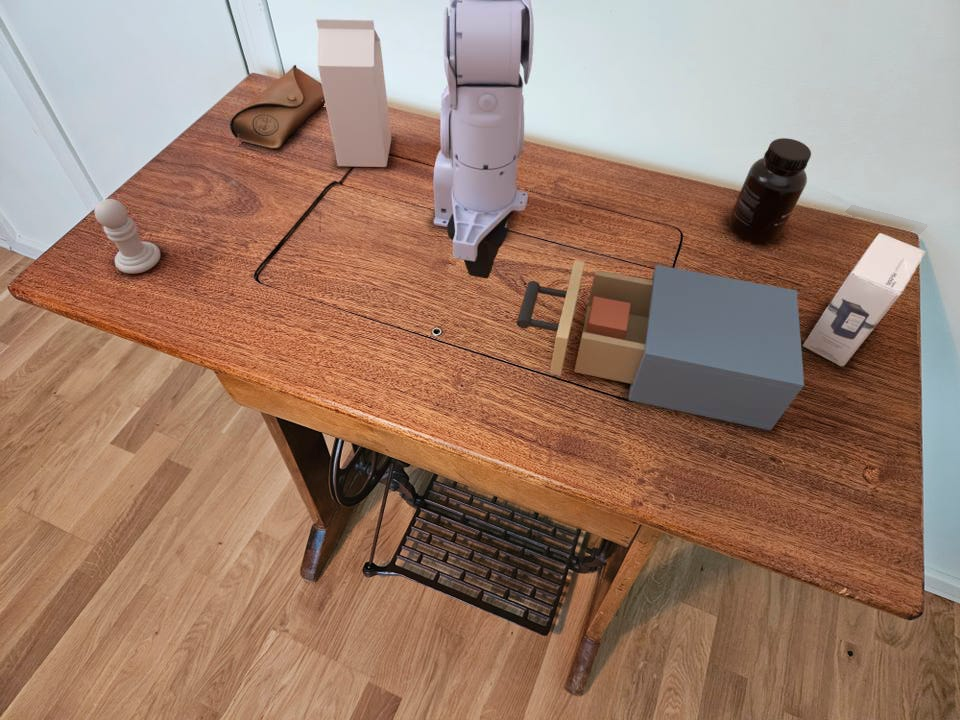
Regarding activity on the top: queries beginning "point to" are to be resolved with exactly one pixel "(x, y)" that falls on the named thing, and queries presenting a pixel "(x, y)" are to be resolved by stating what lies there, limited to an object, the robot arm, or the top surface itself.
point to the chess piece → (126, 238)
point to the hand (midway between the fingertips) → (482, 264)
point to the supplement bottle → (770, 191)
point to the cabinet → (720, 348)
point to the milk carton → (354, 91)
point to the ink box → (864, 298)
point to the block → (608, 318)
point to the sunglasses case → (278, 110)
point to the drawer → (594, 350)
